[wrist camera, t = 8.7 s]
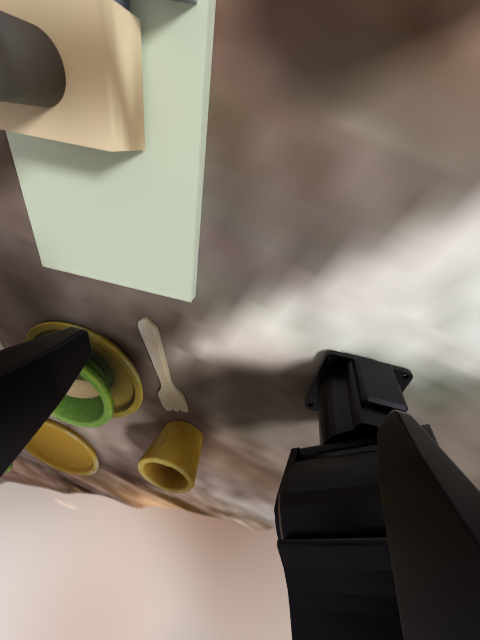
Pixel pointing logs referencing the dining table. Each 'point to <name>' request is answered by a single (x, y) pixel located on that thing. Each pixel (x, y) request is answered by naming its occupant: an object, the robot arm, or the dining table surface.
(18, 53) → the sled
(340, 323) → the dining table surface
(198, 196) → the pitch
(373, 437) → the robot arm
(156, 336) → the tableware set
